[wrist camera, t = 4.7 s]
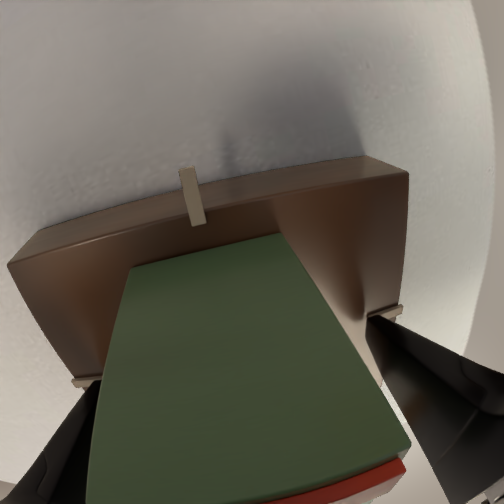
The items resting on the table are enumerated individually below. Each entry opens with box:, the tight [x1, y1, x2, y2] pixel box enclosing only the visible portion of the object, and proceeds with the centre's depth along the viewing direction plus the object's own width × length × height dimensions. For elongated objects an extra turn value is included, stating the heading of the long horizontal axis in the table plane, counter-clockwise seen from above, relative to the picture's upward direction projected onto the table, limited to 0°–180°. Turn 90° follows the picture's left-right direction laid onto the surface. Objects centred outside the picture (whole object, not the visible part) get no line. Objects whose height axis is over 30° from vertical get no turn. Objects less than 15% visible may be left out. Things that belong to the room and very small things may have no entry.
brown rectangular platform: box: [7, 156, 409, 391], centre depth 11 cm, size 12×12×3 cm
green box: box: [86, 233, 411, 504], centre depth 7 cm, size 8×4×6 cm, turn 10°
